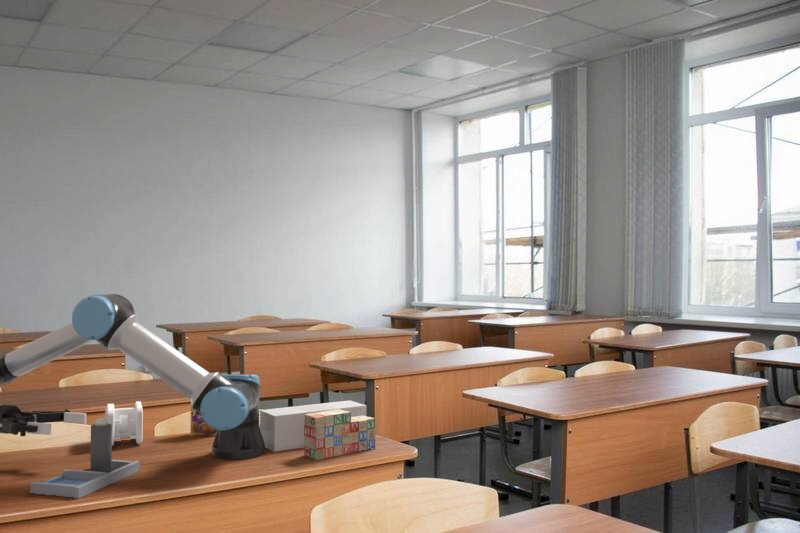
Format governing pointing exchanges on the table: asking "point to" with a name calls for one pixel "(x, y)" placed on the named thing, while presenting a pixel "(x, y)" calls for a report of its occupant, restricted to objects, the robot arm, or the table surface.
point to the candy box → (200, 425)
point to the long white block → (297, 422)
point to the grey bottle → (101, 446)
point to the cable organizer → (126, 422)
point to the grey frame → (84, 480)
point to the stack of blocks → (337, 434)
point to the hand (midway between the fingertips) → (68, 423)
